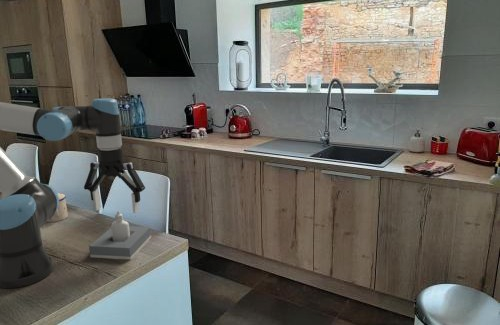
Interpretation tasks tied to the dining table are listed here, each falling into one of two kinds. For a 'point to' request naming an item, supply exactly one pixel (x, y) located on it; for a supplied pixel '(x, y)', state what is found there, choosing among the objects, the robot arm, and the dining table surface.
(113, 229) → the eye dropper bottle
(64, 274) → the dining table surface
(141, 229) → the hole block
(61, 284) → the dining table surface
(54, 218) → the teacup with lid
